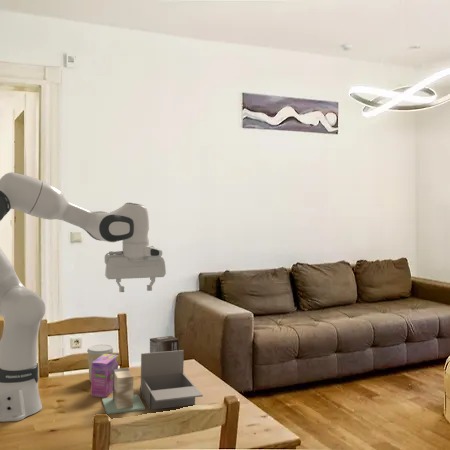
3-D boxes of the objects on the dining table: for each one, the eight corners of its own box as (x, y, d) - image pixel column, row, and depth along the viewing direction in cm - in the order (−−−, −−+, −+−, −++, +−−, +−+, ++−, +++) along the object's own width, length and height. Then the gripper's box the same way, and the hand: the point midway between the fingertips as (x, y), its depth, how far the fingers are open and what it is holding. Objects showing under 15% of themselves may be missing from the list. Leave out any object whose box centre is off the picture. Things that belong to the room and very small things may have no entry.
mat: (106, 414, 169) (107, 412, 169) (102, 400, 181) (102, 398, 181) (145, 409, 174) (145, 407, 174) (137, 396, 185) (137, 394, 185)
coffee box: (171, 377, 205) (172, 335, 204) (179, 382, 200) (179, 339, 199) (149, 380, 201) (149, 338, 200) (155, 386, 195) (156, 342, 194)
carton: (155, 419, 166) (156, 374, 165) (140, 393, 188) (141, 353, 187) (202, 413, 171) (203, 369, 171) (182, 389, 193) (183, 350, 192)
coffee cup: (109, 384, 196) (110, 351, 196) (84, 383, 197) (84, 350, 196) (115, 375, 206) (115, 344, 205) (90, 375, 206) (91, 344, 205)
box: (106, 397, 183) (106, 363, 183) (90, 396, 184) (90, 362, 184) (118, 387, 193) (118, 354, 193) (103, 386, 195) (103, 353, 194)
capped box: (117, 409, 172) (117, 378, 172) (113, 399, 180) (113, 369, 180) (132, 407, 174) (133, 376, 173) (128, 397, 182) (128, 368, 182)
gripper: (105, 252, 178) (105, 294, 179) (166, 250, 185) (166, 291, 185) (103, 250, 184) (103, 291, 185) (162, 249, 190) (162, 288, 191)
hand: (135, 291), depth 185 cm, fingers open, 8 cm apart
